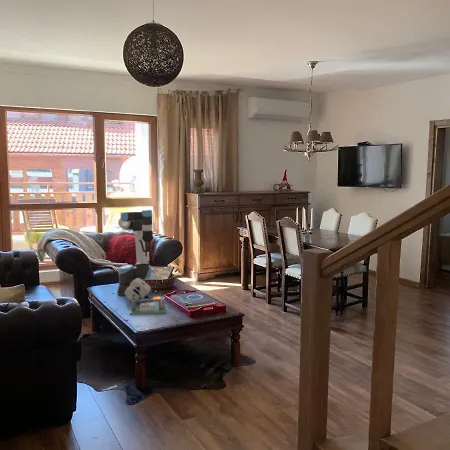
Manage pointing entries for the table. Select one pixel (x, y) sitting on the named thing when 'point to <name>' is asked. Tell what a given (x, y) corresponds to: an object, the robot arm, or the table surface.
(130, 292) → the robotic device
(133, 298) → the forked tab bracket
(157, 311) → the board
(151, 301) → the strap
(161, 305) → the lug
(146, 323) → the table surface
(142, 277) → the robot arm
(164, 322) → the table surface
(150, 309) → the heatsink
